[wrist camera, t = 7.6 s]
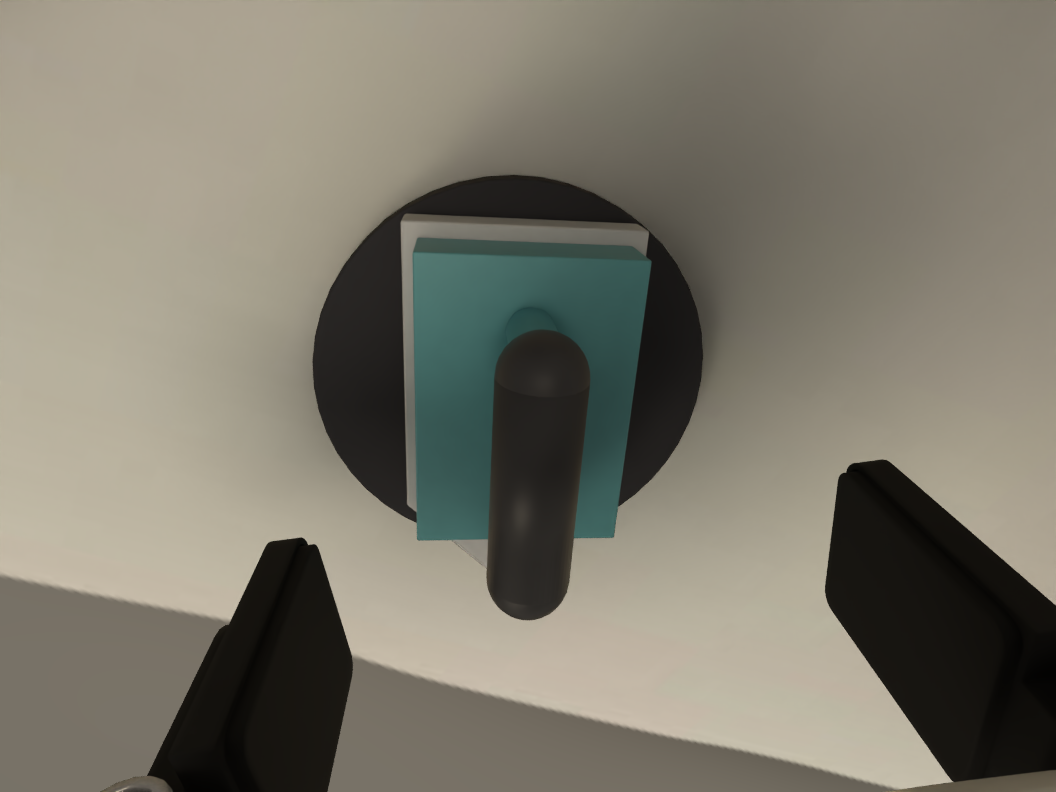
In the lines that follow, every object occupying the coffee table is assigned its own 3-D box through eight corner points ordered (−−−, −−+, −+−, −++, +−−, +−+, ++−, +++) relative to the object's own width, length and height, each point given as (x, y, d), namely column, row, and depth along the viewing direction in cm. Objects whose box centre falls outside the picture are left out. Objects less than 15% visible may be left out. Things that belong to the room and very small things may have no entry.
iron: (403, 213, 17) (374, 268, 11) (638, 223, 18) (730, 280, 12) (411, 564, 22) (393, 735, 16) (596, 560, 22) (646, 722, 16)
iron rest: (693, 150, 18) (705, 152, 17) (692, 498, 23) (702, 514, 22) (272, 202, 18) (262, 208, 17) (365, 548, 23) (361, 566, 22)
